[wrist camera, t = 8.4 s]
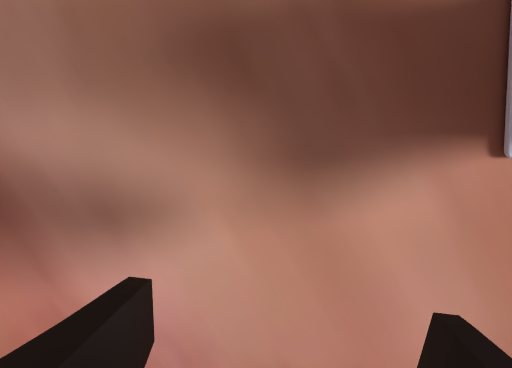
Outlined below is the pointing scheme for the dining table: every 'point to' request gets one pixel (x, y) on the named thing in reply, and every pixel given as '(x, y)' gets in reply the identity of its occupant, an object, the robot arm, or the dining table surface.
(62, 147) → the dining table surface
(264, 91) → the dining table surface
